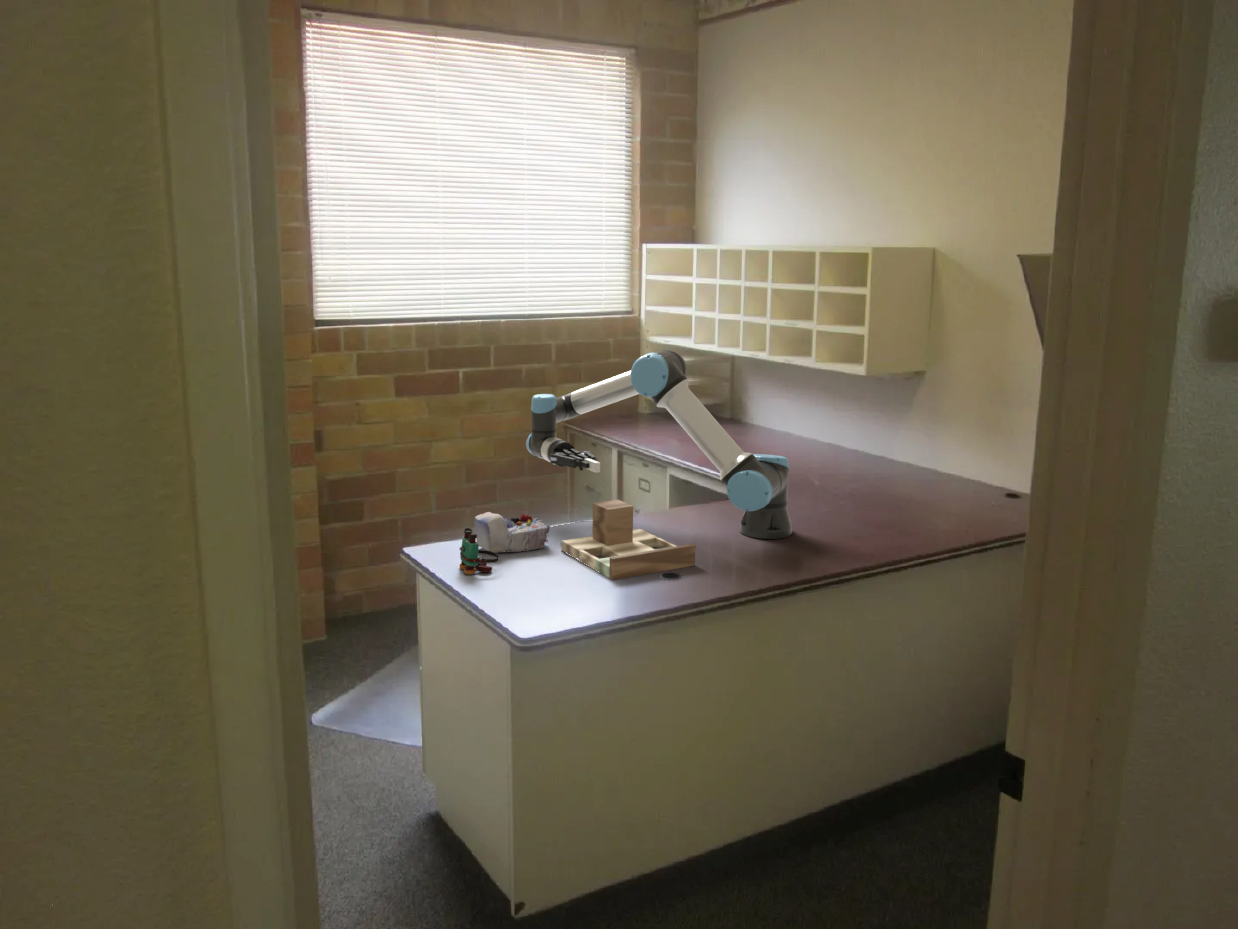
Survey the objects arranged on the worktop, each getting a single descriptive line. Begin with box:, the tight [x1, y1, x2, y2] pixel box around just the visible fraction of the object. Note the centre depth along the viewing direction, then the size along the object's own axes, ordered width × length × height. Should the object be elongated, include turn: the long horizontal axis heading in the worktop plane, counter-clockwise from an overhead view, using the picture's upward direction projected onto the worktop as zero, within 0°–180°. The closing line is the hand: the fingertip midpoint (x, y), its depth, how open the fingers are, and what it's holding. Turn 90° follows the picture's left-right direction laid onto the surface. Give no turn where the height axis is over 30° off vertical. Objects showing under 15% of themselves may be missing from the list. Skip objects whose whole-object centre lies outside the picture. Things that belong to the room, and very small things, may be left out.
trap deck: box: [561, 528, 696, 581], centre depth 267 cm, size 28×25×6 cm
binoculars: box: [459, 527, 500, 576], centre depth 255 cm, size 9×11×10 cm
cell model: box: [473, 511, 551, 554], centre depth 274 cm, size 13×11×20 cm
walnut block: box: [592, 499, 634, 546], centre depth 272 cm, size 8×8×10 cm
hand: (597, 467), depth 276 cm, fingers closed
